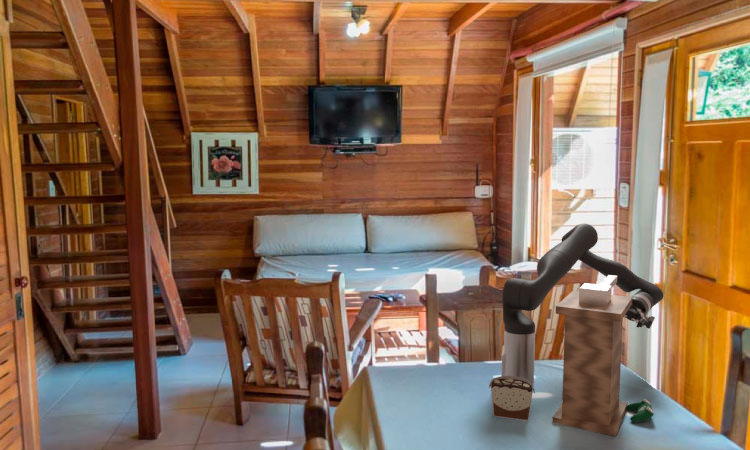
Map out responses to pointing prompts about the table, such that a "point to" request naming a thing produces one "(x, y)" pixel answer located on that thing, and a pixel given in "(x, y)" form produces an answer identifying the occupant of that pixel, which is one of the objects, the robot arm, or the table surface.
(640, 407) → the gaming controller
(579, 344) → the stand
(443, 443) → the table surface
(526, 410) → the food container
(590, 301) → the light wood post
